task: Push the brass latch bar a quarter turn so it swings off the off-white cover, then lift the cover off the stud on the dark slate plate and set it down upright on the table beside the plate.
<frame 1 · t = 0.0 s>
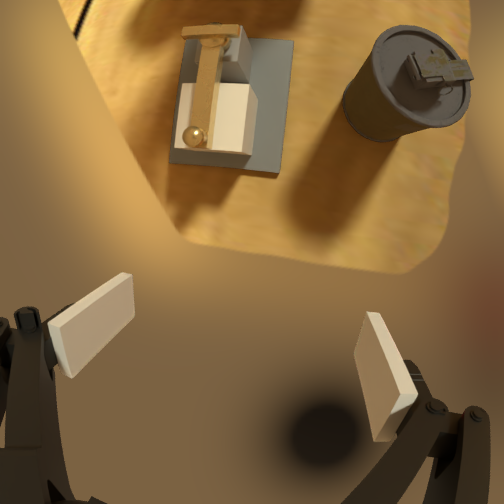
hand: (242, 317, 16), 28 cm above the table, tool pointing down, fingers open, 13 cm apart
cover: (226, 125, 39), point 1 cm above the table, touching latch base
canister: (378, 107, 36), on the table
latch bar: (205, 80, 27), point 12 cm above the table, hinge at 0.0°
latch base: (231, 99, 38), on the table
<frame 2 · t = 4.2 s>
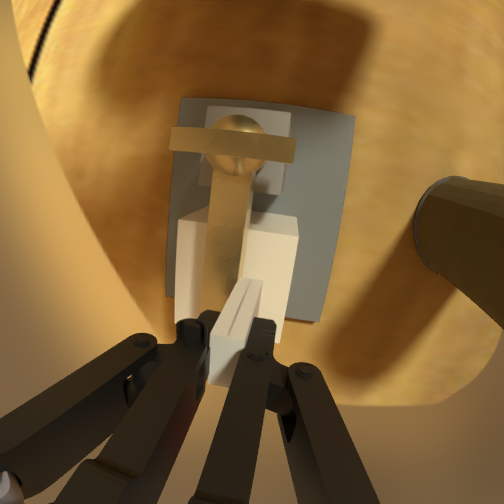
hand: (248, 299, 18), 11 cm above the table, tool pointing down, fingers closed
cover: (247, 253, 28), point 1 cm above the table, touching latch base
canister: (455, 225, 26), on the table
latch bar: (222, 251, 16), point 12 cm above the table, hinge at 0.7°, touching gripper
latch base: (253, 209, 28), on the table
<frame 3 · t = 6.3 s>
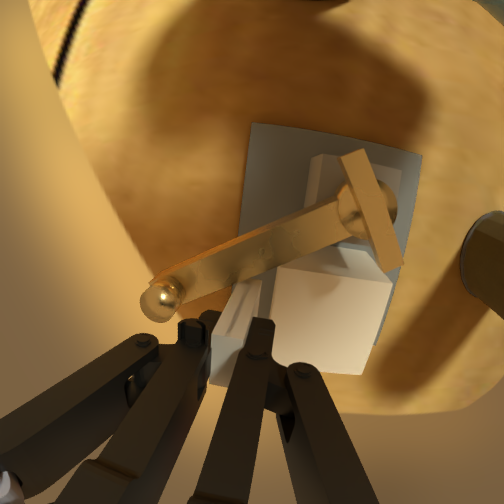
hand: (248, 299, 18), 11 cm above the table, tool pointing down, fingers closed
cover: (316, 285, 28), point 1 cm above the table, touching latch base
canister: (492, 254, 26), on the table
latch bar: (267, 250, 16), point 12 cm above the table, hinge at 57.8°, touching gripper
latch base: (323, 242, 28), on the table
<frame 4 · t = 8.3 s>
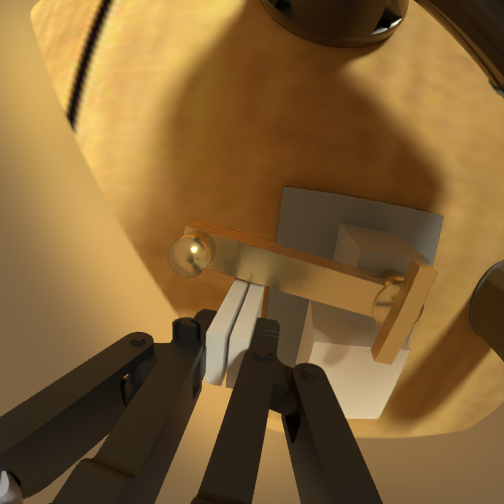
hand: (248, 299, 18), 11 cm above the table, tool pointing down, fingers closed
cover: (340, 336, 29), point 1 cm above the table, touching latch base
canister: (500, 297, 26), on the table
latch bar: (308, 281, 16), point 12 cm above the table, hinge at 99.0°, touching gripper
latch base: (347, 297, 29), on the table
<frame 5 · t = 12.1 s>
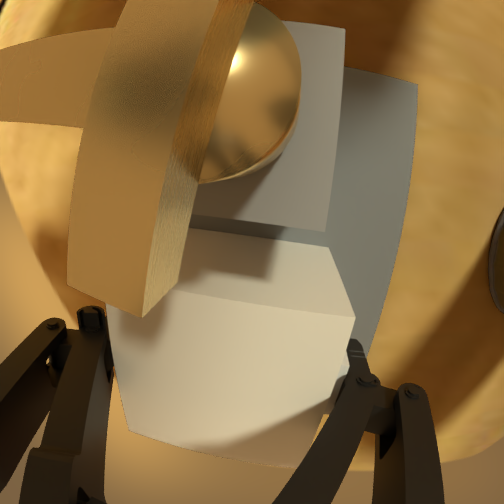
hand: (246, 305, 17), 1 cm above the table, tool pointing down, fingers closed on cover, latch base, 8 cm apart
cover: (247, 303, 17), point 1 cm above the table, touching gripper
latch base: (257, 232, 17), on the table
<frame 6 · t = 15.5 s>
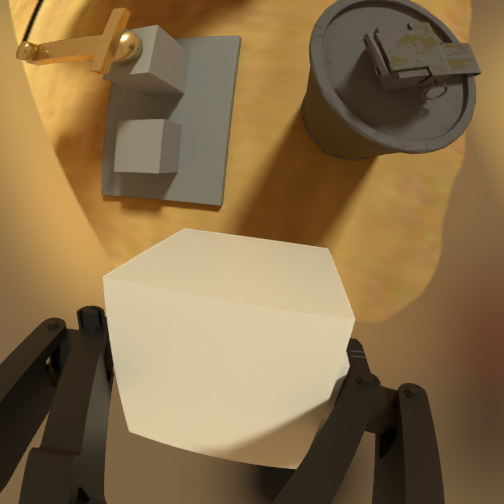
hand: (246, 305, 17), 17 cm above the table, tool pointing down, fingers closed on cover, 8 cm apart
cover: (247, 304, 17), point 17 cm above the table, touching gripper
canister: (351, 114, 29), on the table
latch bar: (71, 47, 18), point 12 cm above the table, hinge at 99.0°
latch base: (165, 115, 31), on the table
when the fingers open (2 cm above the table, at t = 18.9 s): cover drops 1 cm, on the table.
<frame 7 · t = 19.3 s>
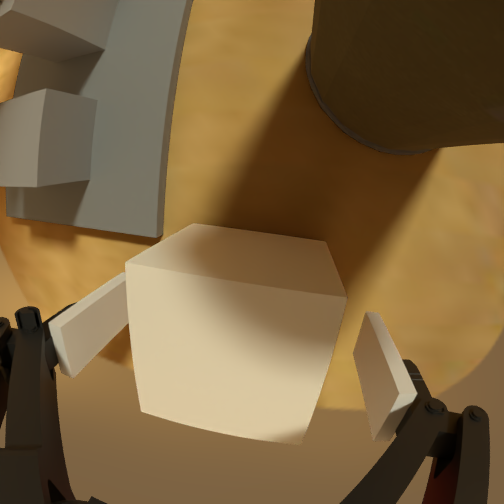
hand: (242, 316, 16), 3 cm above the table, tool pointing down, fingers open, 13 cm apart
cover: (250, 293, 19), on the table
canister: (393, 72, 14), on the table
latch base: (80, 89, 16), on the table
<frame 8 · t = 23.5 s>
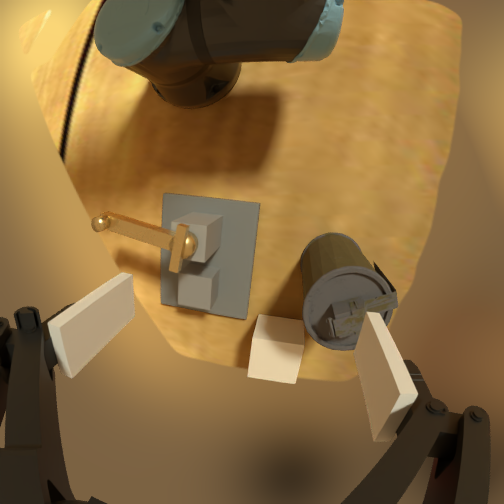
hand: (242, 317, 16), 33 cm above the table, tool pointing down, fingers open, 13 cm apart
cover: (278, 336, 52), on the table
canister: (333, 263, 48), on the table
latch bar: (142, 234, 37), point 12 cm above the table, hinge at 99.0°
latch base: (206, 256, 50), on the table
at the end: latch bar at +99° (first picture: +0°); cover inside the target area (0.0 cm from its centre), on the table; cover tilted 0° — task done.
